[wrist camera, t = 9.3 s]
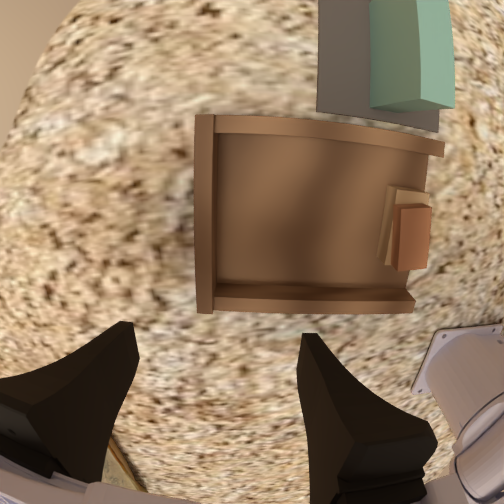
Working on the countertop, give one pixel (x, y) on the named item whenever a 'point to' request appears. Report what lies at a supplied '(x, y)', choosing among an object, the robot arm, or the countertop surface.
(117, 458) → the stone slab
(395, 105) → the block
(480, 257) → the countertop surface
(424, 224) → the offcut upper
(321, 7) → the mat
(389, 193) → the offcut lower
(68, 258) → the countertop surface
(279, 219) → the tray
